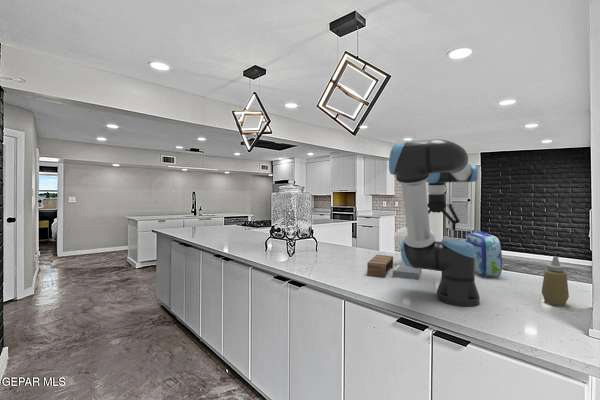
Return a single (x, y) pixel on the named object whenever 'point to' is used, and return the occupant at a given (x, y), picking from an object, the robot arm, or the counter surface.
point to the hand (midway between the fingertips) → (436, 236)
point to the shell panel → (406, 272)
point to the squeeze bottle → (555, 284)
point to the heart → (403, 237)
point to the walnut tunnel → (379, 265)
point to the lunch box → (486, 253)
